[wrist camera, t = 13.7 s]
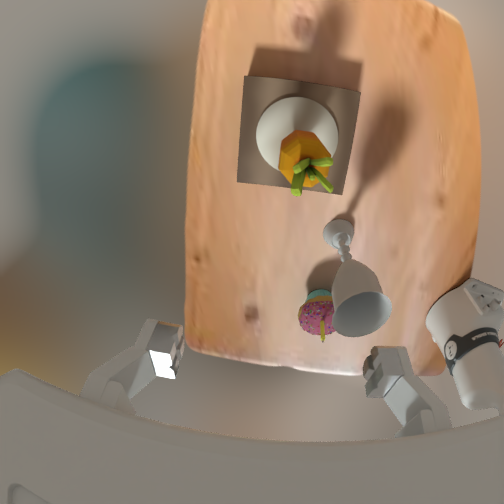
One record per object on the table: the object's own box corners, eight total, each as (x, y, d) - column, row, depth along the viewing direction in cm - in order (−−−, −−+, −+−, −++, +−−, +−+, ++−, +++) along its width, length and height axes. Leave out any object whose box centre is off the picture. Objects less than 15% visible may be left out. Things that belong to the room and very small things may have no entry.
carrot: (313, 115, 32) (334, 141, 19) (323, 153, 34) (347, 202, 22) (272, 125, 33) (267, 157, 20) (284, 162, 35) (285, 216, 23)
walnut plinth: (353, 90, 33) (361, 92, 29) (336, 184, 41) (342, 196, 37) (247, 75, 33) (243, 75, 30) (240, 172, 41) (236, 183, 38)
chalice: (330, 206, 43) (354, 283, 28) (367, 222, 44) (403, 301, 29) (309, 244, 47) (320, 329, 32) (345, 257, 48) (367, 342, 33)
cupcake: (290, 289, 52) (291, 341, 43) (335, 274, 50) (346, 326, 40) (306, 319, 56) (309, 369, 47) (347, 307, 54) (357, 357, 44)
